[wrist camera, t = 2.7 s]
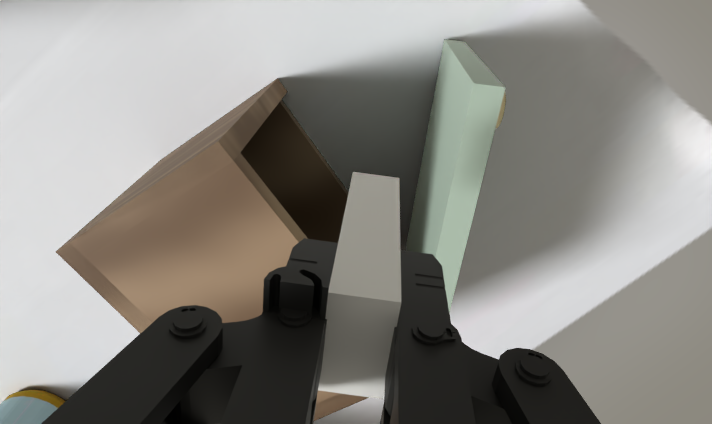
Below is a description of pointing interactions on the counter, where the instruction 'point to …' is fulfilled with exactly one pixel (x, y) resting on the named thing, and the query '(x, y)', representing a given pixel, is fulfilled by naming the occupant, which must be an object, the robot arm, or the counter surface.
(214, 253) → the walnut cabinet
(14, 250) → the counter surface
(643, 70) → the counter surface
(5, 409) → the bottle
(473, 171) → the cabinet door
